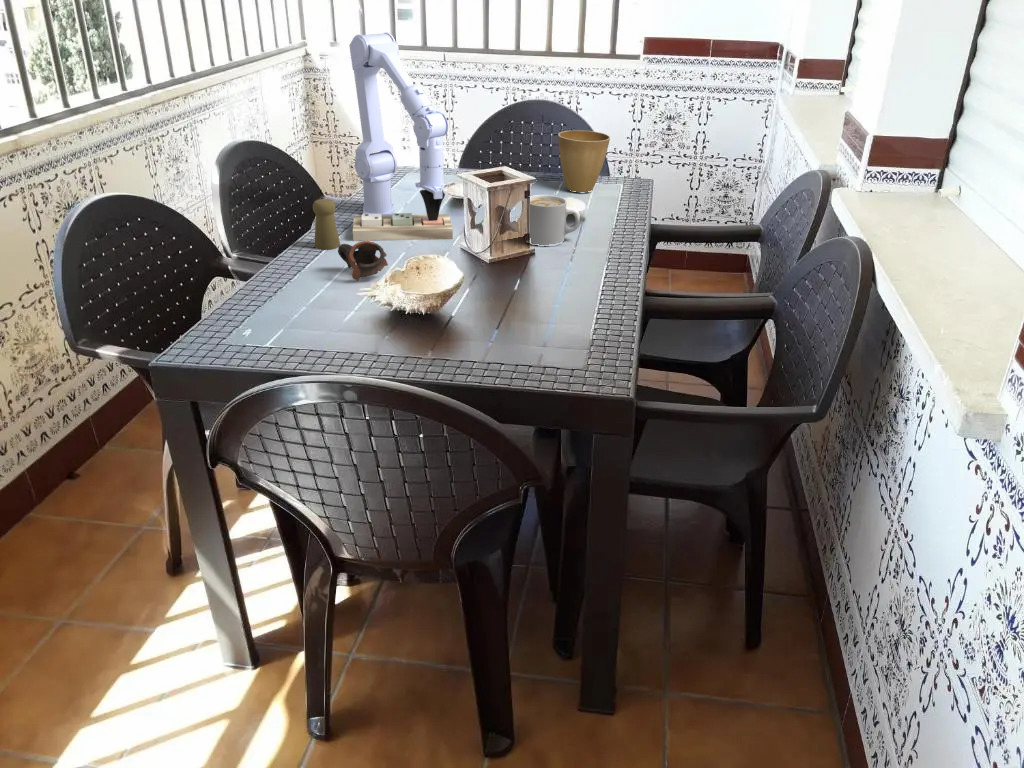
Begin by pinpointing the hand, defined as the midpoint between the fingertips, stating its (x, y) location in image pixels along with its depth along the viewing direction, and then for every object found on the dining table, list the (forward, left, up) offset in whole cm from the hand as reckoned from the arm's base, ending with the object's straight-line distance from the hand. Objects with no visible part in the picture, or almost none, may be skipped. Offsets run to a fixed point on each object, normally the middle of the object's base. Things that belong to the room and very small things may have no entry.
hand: (432, 219), depth 204 cm
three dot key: (0, -8, -3) cm, 8 cm away
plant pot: (-35, +45, -3) cm, 57 cm away
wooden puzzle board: (0, -8, -3) cm, 8 cm away
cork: (+9, -26, -3) cm, 27 cm away
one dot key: (0, 0, -4) cm, 4 cm away
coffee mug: (+9, +28, -3) cm, 30 cm away
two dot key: (0, -15, -3) cm, 15 cm away
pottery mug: (+27, -17, -3) cm, 32 cm away
